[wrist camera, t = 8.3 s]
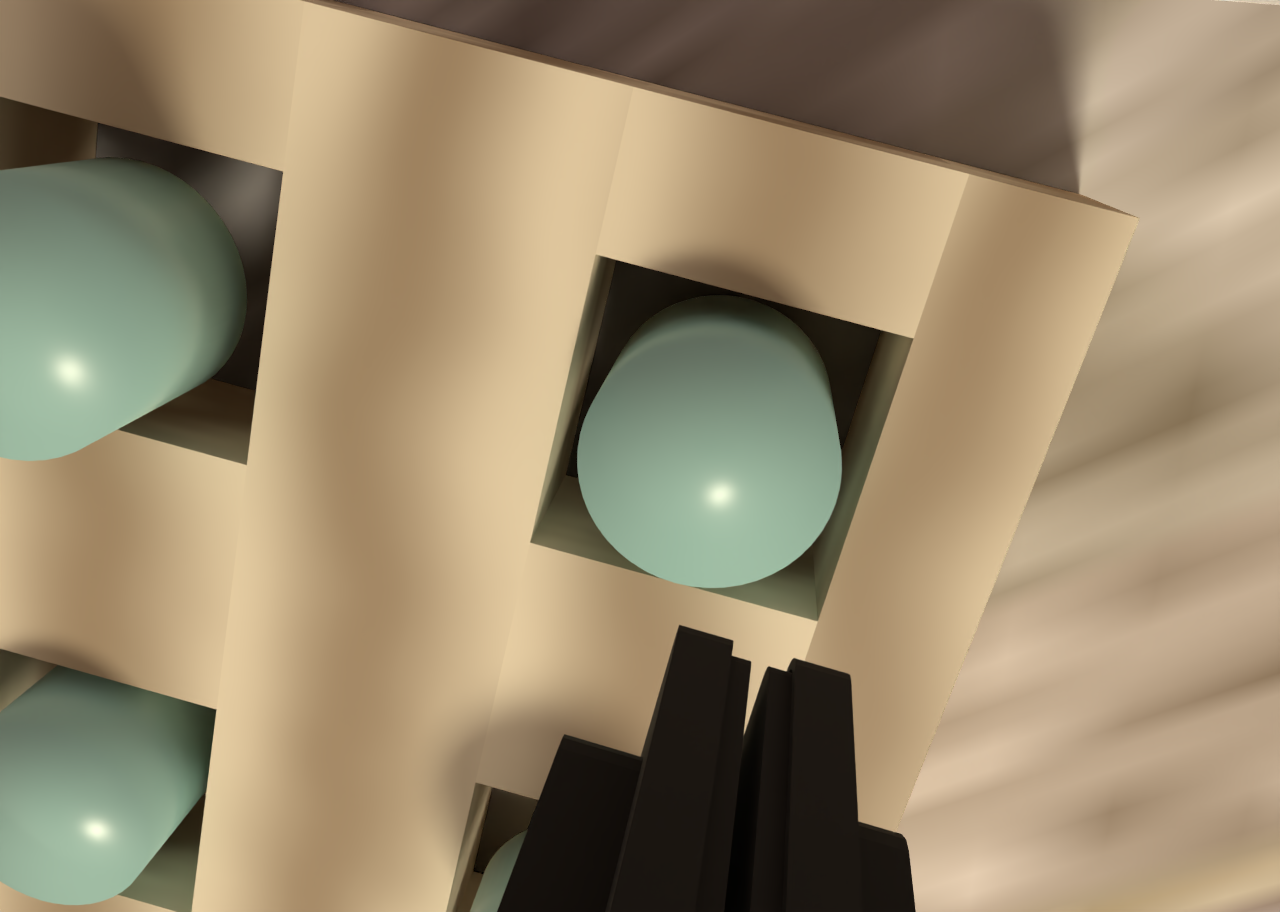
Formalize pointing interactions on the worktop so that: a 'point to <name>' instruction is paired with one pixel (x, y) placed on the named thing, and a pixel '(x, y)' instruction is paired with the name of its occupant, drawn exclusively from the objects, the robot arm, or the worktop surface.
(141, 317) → the button
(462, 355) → the board
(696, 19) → the worktop surface
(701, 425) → the button
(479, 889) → the button
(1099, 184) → the worktop surface
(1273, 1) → the syrup box
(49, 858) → the button
